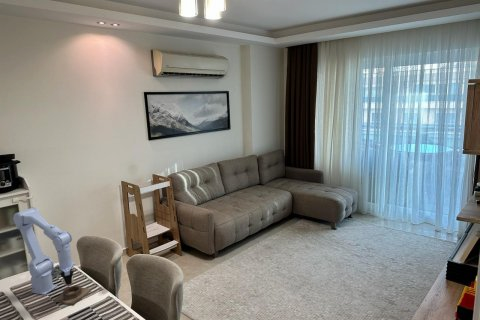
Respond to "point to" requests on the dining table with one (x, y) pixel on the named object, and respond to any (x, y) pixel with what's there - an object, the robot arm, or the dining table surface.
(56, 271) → the egg carton
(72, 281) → the egg
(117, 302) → the dining table surface
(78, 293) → the egg stand
